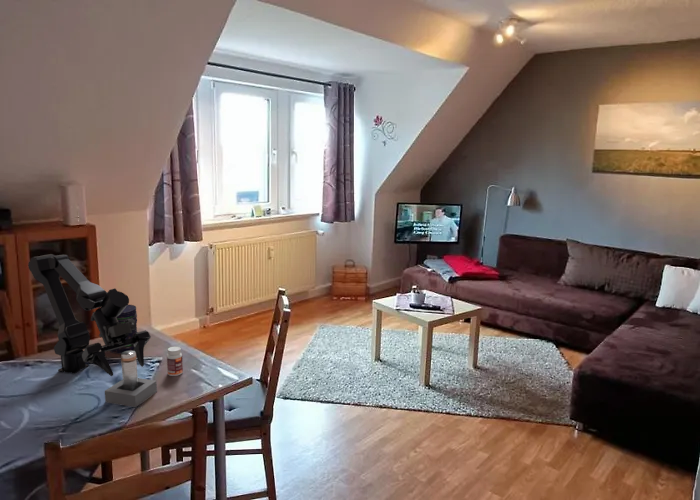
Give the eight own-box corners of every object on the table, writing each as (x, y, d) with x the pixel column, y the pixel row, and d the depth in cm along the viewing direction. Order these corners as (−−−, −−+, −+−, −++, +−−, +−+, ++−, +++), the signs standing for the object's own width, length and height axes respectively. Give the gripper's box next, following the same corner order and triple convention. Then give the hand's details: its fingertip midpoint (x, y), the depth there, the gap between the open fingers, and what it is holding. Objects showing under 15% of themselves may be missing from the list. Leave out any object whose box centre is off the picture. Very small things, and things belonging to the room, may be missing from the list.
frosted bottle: (120, 397, 154) (117, 355, 152) (129, 391, 158) (126, 349, 155) (133, 399, 153) (129, 356, 151) (142, 392, 157) (138, 351, 154)
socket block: (105, 402, 152) (104, 390, 151) (128, 387, 162) (127, 376, 161) (135, 407, 150) (135, 395, 149) (156, 391, 159) (156, 380, 158)
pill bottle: (178, 377, 169) (177, 352, 168) (164, 375, 170) (163, 350, 169) (185, 370, 174) (184, 346, 172) (172, 369, 175) (171, 345, 173)
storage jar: (112, 344, 195) (109, 305, 192) (140, 342, 197) (138, 303, 194) (106, 354, 185) (103, 313, 182) (136, 352, 188) (134, 312, 185)
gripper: (83, 319, 148) (103, 367, 143) (146, 305, 162) (166, 349, 157) (73, 338, 155) (92, 385, 150) (135, 323, 168) (154, 366, 164)
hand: (128, 370), depth 155 cm, fingers open, 9 cm apart
